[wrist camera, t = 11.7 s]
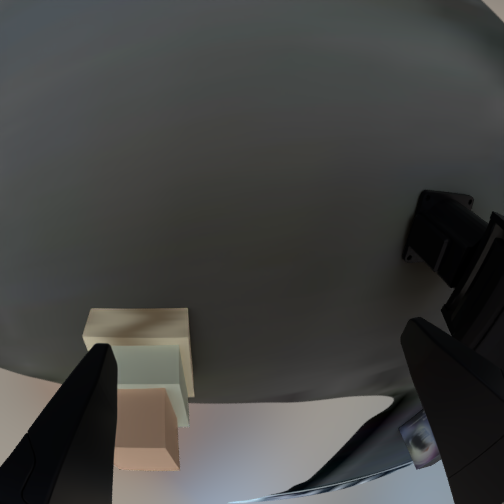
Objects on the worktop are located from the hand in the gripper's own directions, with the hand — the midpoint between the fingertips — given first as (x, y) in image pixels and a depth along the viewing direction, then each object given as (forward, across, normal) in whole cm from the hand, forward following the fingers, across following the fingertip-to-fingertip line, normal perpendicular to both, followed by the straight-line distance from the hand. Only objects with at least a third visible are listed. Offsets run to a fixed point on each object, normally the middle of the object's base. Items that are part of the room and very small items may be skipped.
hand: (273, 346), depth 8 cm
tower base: (+13, +7, +14) cm, 21 cm away
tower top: (+10, +7, +14) cm, 19 cm away
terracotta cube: (+6, +7, +14) cm, 16 cm away
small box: (+13, -38, +43) cm, 59 cm away
